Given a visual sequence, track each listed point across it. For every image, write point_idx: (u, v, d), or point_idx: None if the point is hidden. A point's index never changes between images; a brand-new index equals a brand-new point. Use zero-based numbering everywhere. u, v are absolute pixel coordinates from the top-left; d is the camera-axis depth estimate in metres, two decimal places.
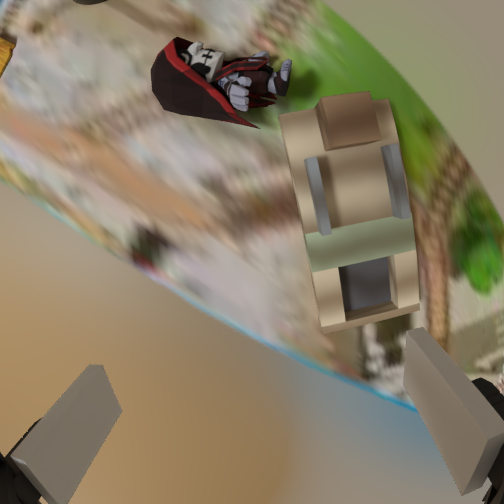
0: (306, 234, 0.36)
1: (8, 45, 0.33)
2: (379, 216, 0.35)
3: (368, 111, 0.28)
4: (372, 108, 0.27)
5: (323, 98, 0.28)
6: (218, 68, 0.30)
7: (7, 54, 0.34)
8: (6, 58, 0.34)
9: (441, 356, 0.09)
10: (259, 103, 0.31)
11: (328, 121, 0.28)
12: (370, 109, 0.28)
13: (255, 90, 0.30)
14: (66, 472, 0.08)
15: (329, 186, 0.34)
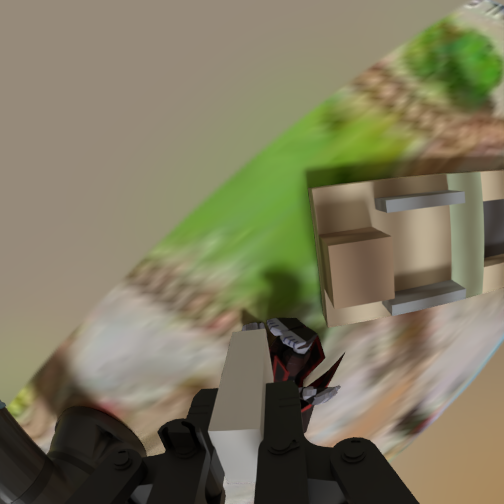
0: None
1: None
2: (448, 217, 0.27)
3: (355, 250, 0.23)
4: (352, 244, 0.23)
5: (336, 307, 0.24)
6: None
7: None
8: None
9: (257, 355, 0.12)
10: (319, 356, 0.28)
11: (365, 302, 0.24)
12: (353, 247, 0.23)
13: None
14: None
15: (413, 275, 0.28)
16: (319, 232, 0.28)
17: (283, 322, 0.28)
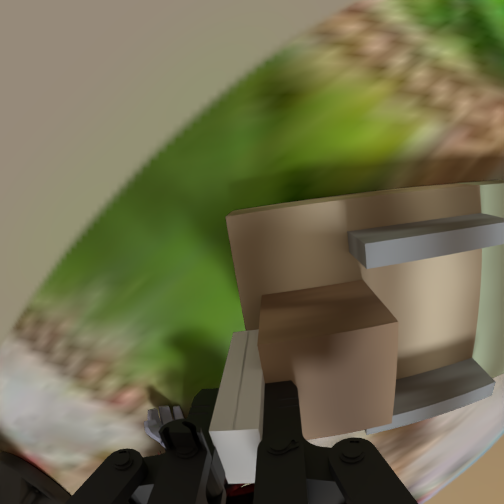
0: None
1: None
2: (478, 261, 0.15)
3: (317, 352, 0.11)
4: (310, 342, 0.11)
5: None
6: None
7: None
8: None
9: (256, 355, 0.12)
10: None
11: (334, 433, 0.12)
12: (313, 347, 0.11)
13: (226, 482, 0.16)
14: None
15: (411, 359, 0.16)
16: (242, 294, 0.16)
17: None
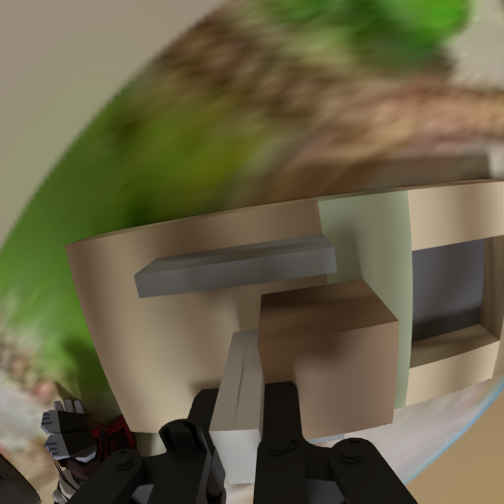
0: None
1: None
2: None
3: (318, 351, 0.11)
4: (310, 341, 0.11)
5: None
6: (80, 486, 0.17)
7: None
8: None
9: (256, 355, 0.12)
10: None
11: (335, 432, 0.12)
12: (313, 347, 0.11)
13: None
14: None
15: None
16: (84, 310, 0.16)
17: (61, 419, 0.17)
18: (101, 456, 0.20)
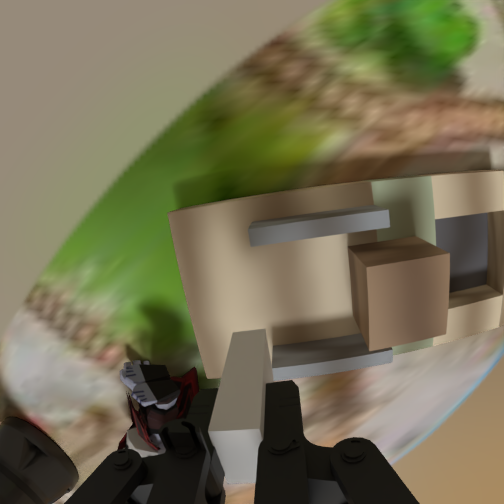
0: None
1: None
2: None
3: (402, 272, 0.16)
4: (398, 265, 0.16)
5: (372, 348, 0.17)
6: None
7: None
8: None
9: (257, 355, 0.12)
10: None
11: (409, 341, 0.17)
12: (400, 269, 0.16)
13: (174, 417, 0.22)
14: None
15: (318, 324, 0.22)
16: (180, 267, 0.22)
17: (144, 371, 0.22)
18: None
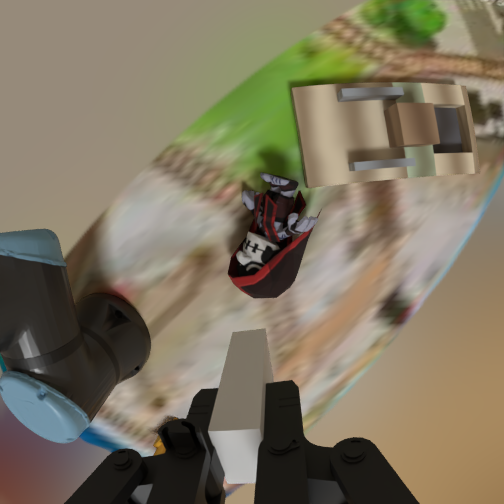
0: (408, 176, 0.38)
1: None
2: None
3: (412, 107, 0.31)
4: (410, 104, 0.31)
5: (405, 143, 0.32)
6: (265, 238, 0.38)
7: None
8: None
9: (257, 355, 0.12)
10: (302, 205, 0.38)
11: (422, 143, 0.32)
12: (411, 106, 0.31)
13: (291, 207, 0.37)
14: None
15: (372, 151, 0.37)
16: (298, 115, 0.37)
17: (272, 175, 0.37)
18: None
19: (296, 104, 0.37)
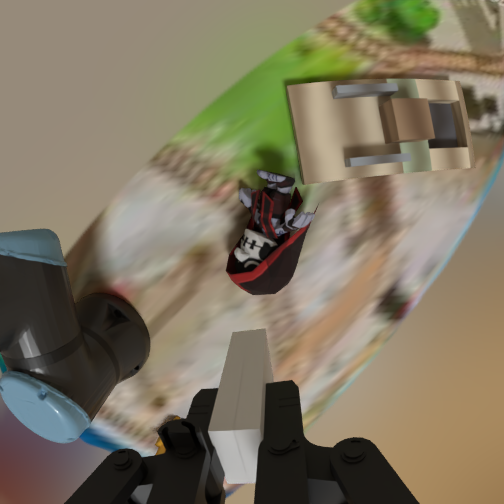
0: (404, 172, 0.38)
1: None
2: None
3: (407, 103, 0.32)
4: (405, 99, 0.31)
5: (400, 138, 0.33)
6: (262, 234, 0.38)
7: None
8: None
9: (257, 355, 0.12)
10: (298, 201, 0.38)
11: (417, 138, 0.32)
12: (406, 101, 0.32)
13: (287, 204, 0.37)
14: None
15: (368, 147, 0.38)
16: (293, 113, 0.37)
17: (269, 172, 0.38)
18: None
19: (291, 102, 0.37)
